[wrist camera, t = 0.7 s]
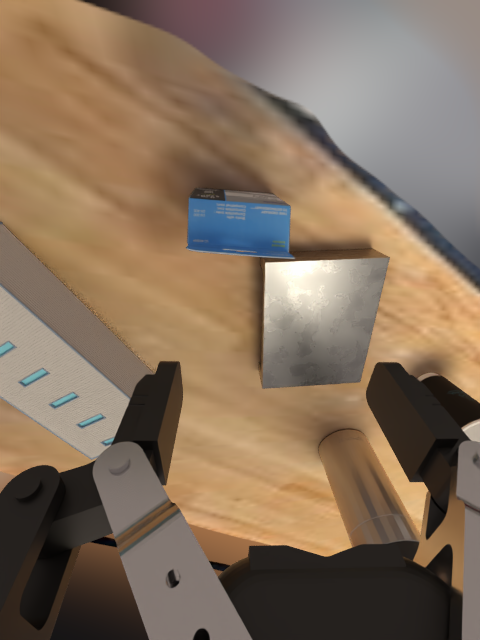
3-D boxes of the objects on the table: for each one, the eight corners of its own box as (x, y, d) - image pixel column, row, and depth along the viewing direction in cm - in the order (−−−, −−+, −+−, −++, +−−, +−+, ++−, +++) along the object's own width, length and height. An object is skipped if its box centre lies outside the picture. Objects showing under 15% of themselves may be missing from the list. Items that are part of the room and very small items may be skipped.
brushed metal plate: (348, 364, 43) (360, 382, 40) (258, 370, 43) (262, 388, 39) (372, 248, 35) (389, 257, 31) (260, 253, 34) (265, 262, 31)
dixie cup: (404, 407, 49) (450, 465, 39) (400, 374, 45) (449, 430, 36) (450, 392, 48) (509, 449, 38) (450, 358, 44) (515, 411, 35)
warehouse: (-79, 288, 34) (-152, 317, 27) (3, 221, 31) (-55, 236, 24) (104, 428, 47) (86, 472, 40) (174, 390, 44) (166, 430, 37)
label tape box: (275, 193, 31) (306, 207, 20) (270, 231, 33) (296, 261, 22) (195, 186, 30) (183, 196, 19) (194, 225, 32) (183, 254, 21)
